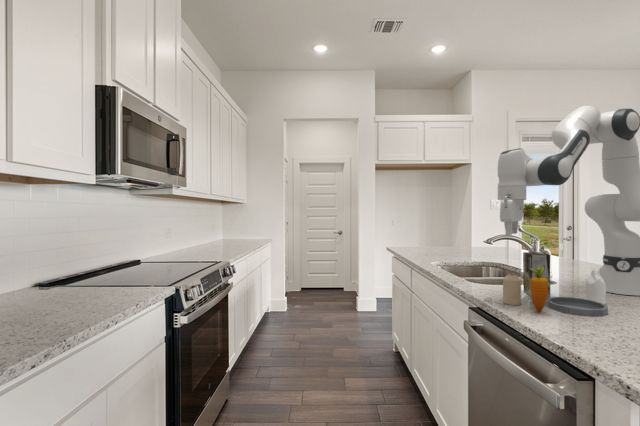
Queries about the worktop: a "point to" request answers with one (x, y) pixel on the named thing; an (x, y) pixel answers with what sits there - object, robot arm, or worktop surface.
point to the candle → (512, 290)
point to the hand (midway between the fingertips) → (511, 234)
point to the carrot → (539, 289)
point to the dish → (577, 306)
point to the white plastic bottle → (596, 287)
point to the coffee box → (532, 262)
